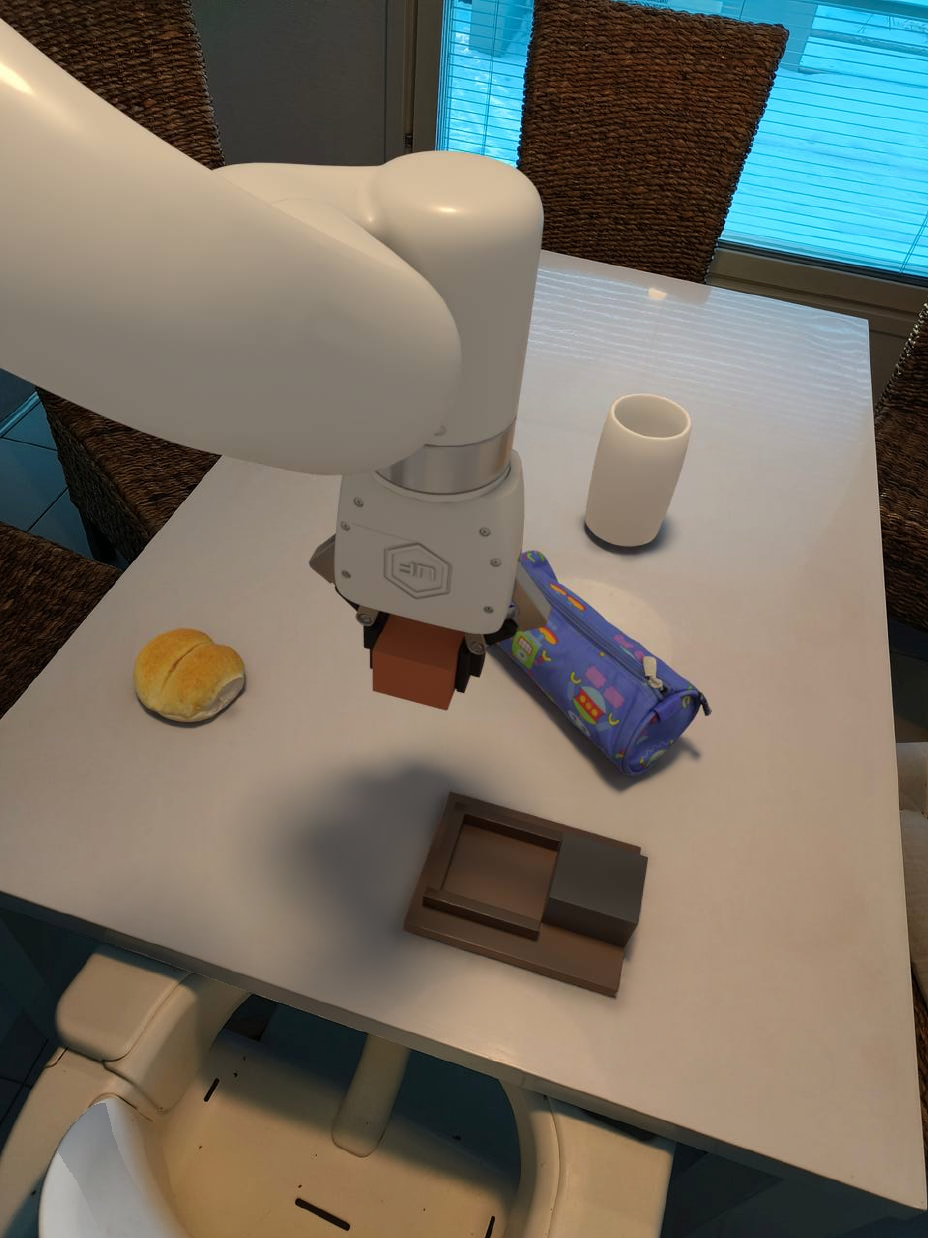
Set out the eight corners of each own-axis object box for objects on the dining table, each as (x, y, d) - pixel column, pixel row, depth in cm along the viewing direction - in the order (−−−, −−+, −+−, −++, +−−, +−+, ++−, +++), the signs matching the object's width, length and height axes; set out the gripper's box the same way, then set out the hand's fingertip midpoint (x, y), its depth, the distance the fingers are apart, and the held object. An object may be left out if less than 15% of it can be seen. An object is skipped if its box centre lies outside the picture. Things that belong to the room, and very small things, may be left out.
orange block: (372, 691, 54) (372, 650, 51) (401, 625, 58) (402, 584, 55) (447, 711, 54) (451, 671, 51) (471, 643, 58) (476, 602, 55)
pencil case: (695, 751, 71) (729, 680, 64) (622, 803, 67) (651, 733, 60) (526, 594, 82) (540, 518, 75) (455, 630, 78) (463, 554, 72)
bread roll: (184, 631, 76) (176, 600, 73) (261, 676, 73) (256, 646, 70) (112, 690, 71) (101, 660, 68) (192, 742, 68) (183, 712, 65)
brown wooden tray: (614, 997, 57) (631, 968, 53) (403, 930, 59) (404, 897, 55) (637, 854, 64) (654, 819, 61) (449, 798, 66) (453, 761, 63)
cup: (590, 495, 94) (617, 382, 83) (665, 517, 92) (702, 404, 82) (570, 543, 88) (596, 427, 78) (650, 566, 86) (687, 452, 76)
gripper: (247, 437, 41) (278, 675, 54) (594, 518, 39) (538, 744, 52) (307, 361, 46) (322, 595, 59) (617, 429, 44) (560, 656, 57)
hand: (423, 663), depth 56 cm, fingers closed on orange block, 5 cm apart
